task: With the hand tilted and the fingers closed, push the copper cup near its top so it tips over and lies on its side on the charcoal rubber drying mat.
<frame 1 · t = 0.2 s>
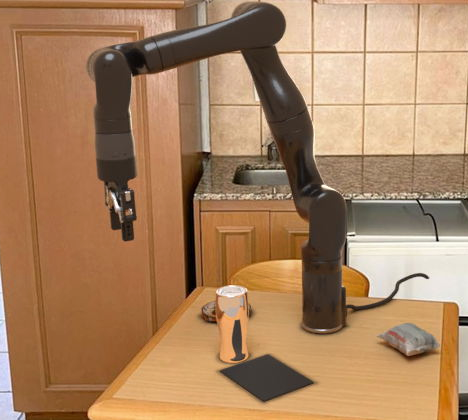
hand: (122, 234, 160), 29 cm above the table, tool pointing down, fingers open, 8 cm apart
floral plate with food: (226, 315, 194), on the table
packaged food: (407, 350, 174), on the table
drying mat: (266, 377, 163), on the table
copper cup: (234, 357, 172), on the table
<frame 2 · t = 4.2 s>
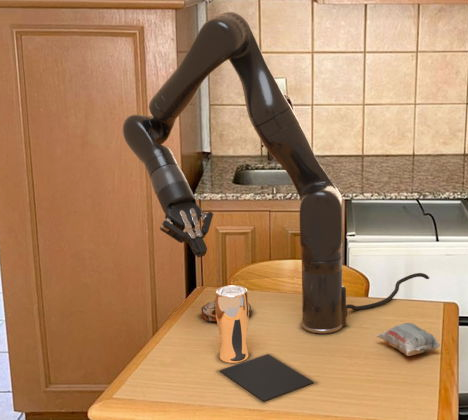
hand: (202, 255, 175), 20 cm above the table, tool tilted 45°, fingers closed
nothing on the table moved.
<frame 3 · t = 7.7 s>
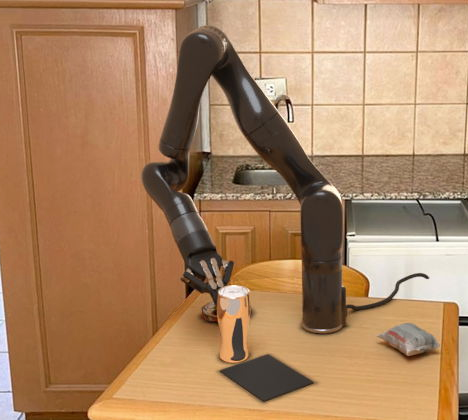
hand: (223, 306, 172), 10 cm above the table, tool tilted 45°, fingers closed
copper cup: (234, 356, 172), on the table, touching gripper
everything else where it was.
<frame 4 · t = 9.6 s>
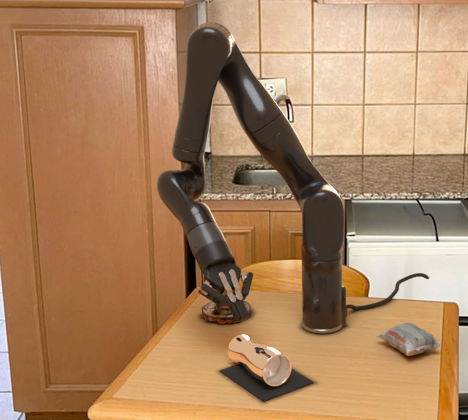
hand: (243, 319, 166), 10 cm above the table, tool tilted 45°, fingers closed
copper cup: (239, 348, 169), point 3 cm above the table, touching drying mat
everything else where it was.
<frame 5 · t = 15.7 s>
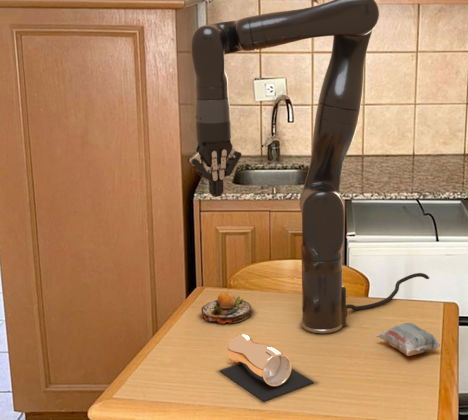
hand: (216, 195, 180), 31 cm above the table, tool pointing down, fingers closed
nothing on the table moved.
at the end: copper cup tilted 86°; copper cup inside the target area (7.4 cm from its centre), point 3.0 cm above the table; the gripper is holding nothing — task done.
